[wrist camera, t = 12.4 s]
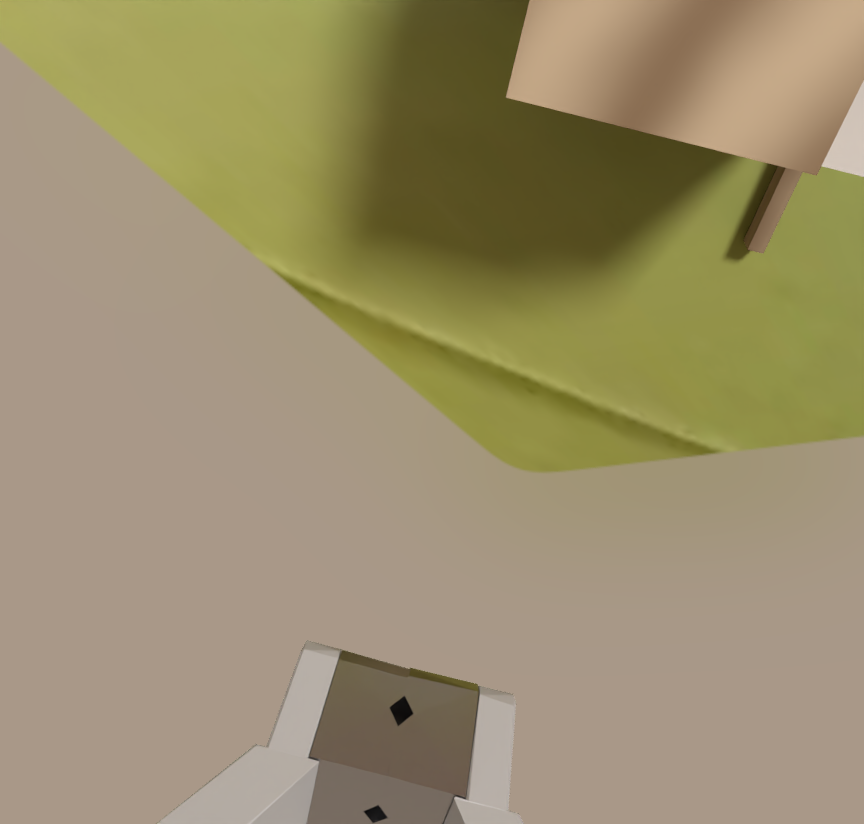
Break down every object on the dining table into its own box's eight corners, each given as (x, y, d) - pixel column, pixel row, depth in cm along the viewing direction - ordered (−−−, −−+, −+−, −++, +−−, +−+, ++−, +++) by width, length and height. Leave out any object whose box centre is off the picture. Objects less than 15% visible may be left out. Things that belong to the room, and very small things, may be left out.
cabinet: (492, 177, 40) (458, 294, 28) (633, -391, 28) (672, -585, 16) (785, 251, 40) (869, 399, 28) (1055, -290, 28) (1392, -413, 16)
